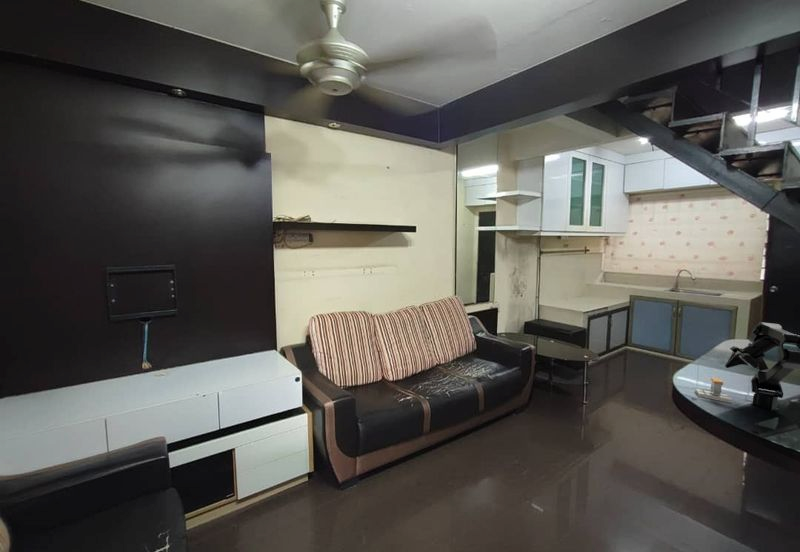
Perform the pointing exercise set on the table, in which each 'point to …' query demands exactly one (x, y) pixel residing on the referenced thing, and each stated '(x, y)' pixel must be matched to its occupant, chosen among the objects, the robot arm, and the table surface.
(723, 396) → the block
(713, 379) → the handle
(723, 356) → the table surface
